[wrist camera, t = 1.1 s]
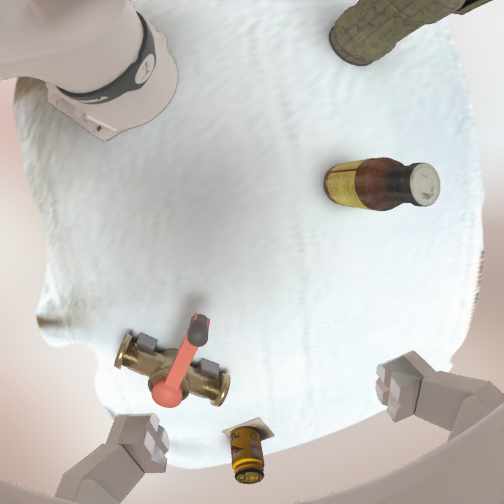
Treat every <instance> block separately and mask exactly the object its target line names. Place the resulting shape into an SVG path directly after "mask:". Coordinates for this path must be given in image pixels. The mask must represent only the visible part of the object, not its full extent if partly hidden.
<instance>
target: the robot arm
mask: <svg viewBox="0 0 504 504" xmlns="http://www.w3.org/2000/svg"><path fill="white" fill-rule="evenodd" d="M14 77H33V78H37V79H40V80H43V81H46V87H47V88H48V92H47V100H48V102H49V103H51V104H52V105H53V106H55V108H56V109H58V110H59V111H61V112H63V113H64V114H66V115H67V116H69V117H70V118H71V119H73V120H74V121H76V122H77V123H78V124H80V125H81V126H82V127H84V128H85V129H87V130H88V131H89V132H91V133H92V134H93V135H95V136H96V137H98V138H99V139H101V140H103V141H107V140H109V139H111V138H113V137H114V136H115V135H117V134H118V133H119V132H121V131H123V130H126V129H129V128H133V127H137V126H140V125H142V124H145V123H146V122H148V121H150V120H152V119H153V118H154V117H156V116H157V115H158V114H159V113H160V112H161V111H162V110H163V109H164V108H165V107H166V106H167V105H168V103H169V102H170V100H171V99H172V97H173V95H174V93H175V90H176V87H177V82H178V69H177V65H176V63H175V60H174V59H173V57H172V56H171V54H170V52H169V50H168V42H167V37H166V35H165V34H164V33H163V32H159V31H156V30H155V28H154V27H153V26H152V24H151V23H150V22H149V21H147V20H145V19H144V18H143V17H142V16H141V15H140V14H139V13H138V12H137V11H135V9H134V7H133V5H132V3H131V2H130V0H0V81H1V80H4V79H9V78H14ZM100 126H101V130H100V131H98V128H99V127H100ZM377 375H378V376H379V378H378V380H377V381H376V392H377V396H378V398H379V400H380V402H381V403H382V404H383V405H386V406H388V408H387V412H388V414H389V415H390V416H391V418H392V420H393V421H394V422H398V421H400V420H402V419H405V418H407V417H409V416H411V415H414V414H415V416H417V417H419V418H422V419H424V420H426V421H428V422H431V423H433V424H435V425H437V426H440V427H442V428H444V429H446V430H449V431H451V433H450V436H449V438H448V440H447V442H446V443H444V444H443V445H441V446H439V447H437V448H436V449H434V450H432V451H431V452H428V453H427V454H425V455H423V456H421V457H419V458H417V459H415V460H413V461H411V462H409V463H407V464H405V465H403V466H401V467H398V468H396V469H394V470H392V471H389V472H387V473H385V474H383V475H380V476H378V477H375V478H373V479H370V480H368V481H365V482H362V483H360V484H357V485H354V486H351V487H348V488H345V489H342V490H339V491H336V492H332V493H329V494H325V495H322V496H318V497H315V498H311V499H307V500H303V501H298V502H294V503H290V504H504V394H503V393H502V392H501V391H500V390H499V389H498V388H497V387H495V386H494V385H493V384H492V383H491V382H489V381H484V380H478V379H474V378H470V377H464V376H460V375H456V374H452V373H447V372H443V371H438V372H436V371H435V370H434V369H433V368H432V367H431V366H430V365H429V364H428V363H427V362H426V361H425V360H424V359H422V358H421V357H420V356H419V355H418V354H417V353H416V352H415V351H410V352H408V353H406V354H403V355H401V356H399V357H396V358H394V359H392V360H389V361H386V362H384V363H381V364H379V365H378V366H377ZM168 450H169V439H168V435H167V432H166V431H165V429H164V428H163V427H161V426H160V425H159V419H158V417H157V415H156V414H153V413H151V414H118V415H117V416H116V417H115V420H114V423H113V425H112V428H111V431H110V433H109V436H108V439H107V442H106V444H102V445H100V446H99V447H98V448H97V449H95V450H94V451H93V452H91V453H90V454H89V455H88V456H86V457H85V458H84V459H83V460H81V461H80V462H79V463H77V464H76V465H75V466H73V467H72V468H71V469H69V470H68V471H67V472H65V473H64V474H63V477H62V479H61V481H60V484H59V486H58V489H57V492H56V494H55V497H54V496H50V495H47V494H44V493H40V492H37V491H34V490H31V489H28V488H26V487H23V486H20V485H18V484H15V483H13V482H10V481H8V480H6V479H3V478H1V477H0V504H120V503H121V502H122V501H123V499H124V498H125V497H126V496H127V495H128V494H129V492H130V491H131V490H132V489H133V488H134V486H135V485H136V484H137V483H138V482H139V480H140V479H141V478H142V477H143V475H144V473H164V472H165V471H166V464H167V458H166V457H165V455H164V454H165V453H166V452H167V451H168Z"/></svg>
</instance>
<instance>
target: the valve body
mask: <svg viewBox="0 0 504 504" xmlns="http://www.w3.org/2000/svg"><path fill="white" fill-rule="evenodd" d="M132 339H133V336H131V335H129V334H126V336H125V338H124V340H123V342H122V344H121V346H120V349H119V351H118V354H117V357H116V360H115V364H114V367H116V368H118V369H121V367H122V365H123V366H125V367H127V368H128V369H131V370H133V371H135V372H137V373H140V374H142V375H145V376H148V377H149V381H148V387H149V390H150V391H151V393H152V391H153V387H154V384H155V382H156V381H157V380H158V379H161V378H166V377H167V375H168V372H169V370H170V368H171V366H172V363H173V361H174V359H175V357H176V354H177V352H178V349H167V350H164V351H163V352H161V354H160V353H158V352H155V351H154V349H155V346H156V343H157V341H158V340H157V339H155V338H152V337H150V336H148V335H146V334H143V333H141V334H140V336H139V338H138V340H137V342H136V343H135V342H133V341H132ZM190 364H191V363H190ZM218 375H219V364H217V363H214V362H212V361H209V360H206V359H204V358H202V360H201V362H200V364H199V366H198V368H195V367H192V366H190V365H189V367H188V369H187V372H186V374H185V376H184V378H183V380H182V382H181V384H180V385H181V386H182V389H183V393H182V399H181V401H182V400H184V399H185V398H186V397H187V396H188V394H189V393H191V394H194V395H196V396H199V397H202V398H207V399H210V400H211V405H214V406H217V407H219V406H221V405H222V403H223V402H224V400H225V398H226V396H227V393H228V390H229V386H230V375H228V374H225V373H221V374H220V375H219V376H218Z"/></svg>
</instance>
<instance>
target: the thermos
mask: <svg viewBox="0 0 504 504" xmlns="http://www.w3.org/2000/svg"><path fill="white" fill-rule="evenodd" d="M490 1H492V0H359V1H358V2H357V3H356V5H355V6H352V7H349V8H348V9H347V10H345V12H344V13H343V14H342V15H341V16H340V18H339V19H338V20H337V21H336V23H335V26H334V27H333V28H332V29H331V32H330V34H329V41H330V44H331V47H332V49H333V50H334V51H335V53H336V54H337V55H338V56H339V57H340V58H342V59H343V60H344V61H346V62H348V63H350V64H353V65H356V66H366V65H368V64H371V63H372V62H373V61H375V60H378V59H380V58H381V57H383V56H384V55H386V54H387V53H389V52H390V51H391V50H392V49H393V48H394V47H395V45H396V43H397V42H398V41H400V40H401V39H403V38H404V37H406V36H407V35H409V34H410V33H412V32H414V31H415V30H417V29H418V28H420V27H421V26H423V25H425V24H432V23H436V22H437V21H439V20H441V19H442V18H444V17H446V16H448V15H449V14H451V13H454V14H460V15H463V14H465V13H467V12H469V11H471V10H473V9H475V8H477V7H479V6H481V5H483V4H485V3H488V2H490Z"/></svg>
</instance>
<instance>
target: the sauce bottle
mask: <svg viewBox="0 0 504 504" xmlns="http://www.w3.org/2000/svg"><path fill="white" fill-rule="evenodd" d="M325 190H326V193H327V194H328V196H329V197H330V198H331V200H333V201H334V202H335V203H337V204H340V205H343V206H348V207H356V208H362V209H369V210H376V211H387V210H390V209H393V208H395V207H397V206H398V205H400V204H402V203H411V204H413V205H415V206H430V205H432V204H433V203H434V202H435V201H436V200H437V199H438V196H439V193H440V180H439V176H438V173H437V172H436V170H435V169H434V168H433V167H432V166H431V165H429V164H427V163H413V164H411V165H409V166H404V165H403V164H402V163H400V162H398V161H396V160H393V159H391V158H386V157H385V158H384V157H383V158H371V159H365V160H360V161H354V162H348V163H343V164H340V165H337V166H336V167H334V168H332V169H331V170H330V171H329V172H328V174H327V175H326V178H325Z"/></svg>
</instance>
